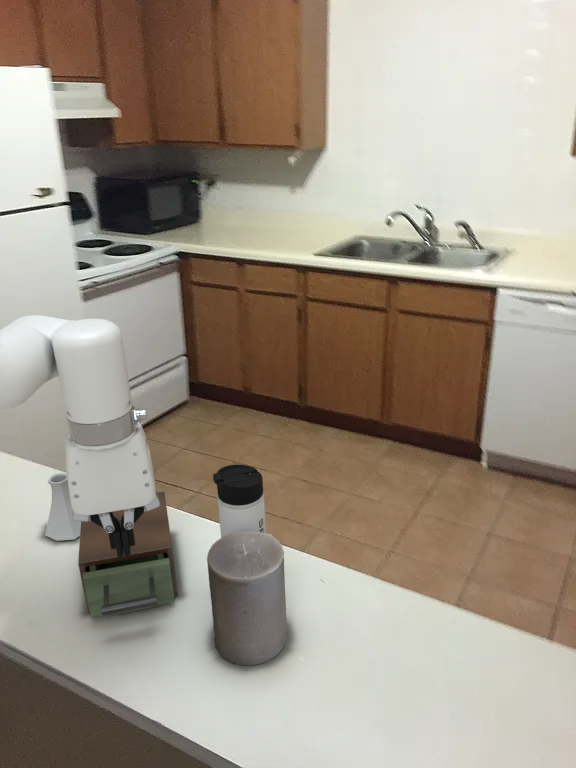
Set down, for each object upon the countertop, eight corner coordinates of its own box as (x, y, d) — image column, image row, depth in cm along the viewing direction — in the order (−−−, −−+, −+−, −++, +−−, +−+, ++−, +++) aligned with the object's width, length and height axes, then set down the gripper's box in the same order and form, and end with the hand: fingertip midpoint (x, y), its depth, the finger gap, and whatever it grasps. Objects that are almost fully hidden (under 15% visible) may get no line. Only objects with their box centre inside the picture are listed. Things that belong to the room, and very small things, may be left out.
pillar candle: (199, 648, 87) (189, 555, 81) (241, 602, 94) (234, 513, 88) (262, 677, 82) (256, 581, 76) (301, 626, 90) (298, 534, 84)
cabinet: (178, 595, 96) (172, 547, 93) (87, 612, 94) (78, 563, 90) (170, 535, 109) (164, 491, 106) (90, 549, 107) (82, 504, 103)
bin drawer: (178, 628, 89) (172, 588, 86) (89, 646, 87) (81, 605, 84) (167, 544, 106) (162, 508, 103) (93, 557, 103) (86, 520, 101)
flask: (37, 539, 109) (25, 487, 105) (61, 514, 116) (50, 464, 112) (77, 544, 108) (66, 492, 104) (98, 518, 114) (89, 468, 110)
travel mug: (218, 583, 98) (207, 465, 90) (261, 571, 100) (254, 455, 92) (230, 611, 93) (219, 489, 85) (275, 598, 95) (269, 478, 87)
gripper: (163, 402, 83) (179, 523, 91) (38, 419, 80) (65, 543, 88) (168, 428, 77) (185, 557, 84) (32, 448, 74) (62, 580, 81)
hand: (124, 550), depth 86 cm, fingers closed
